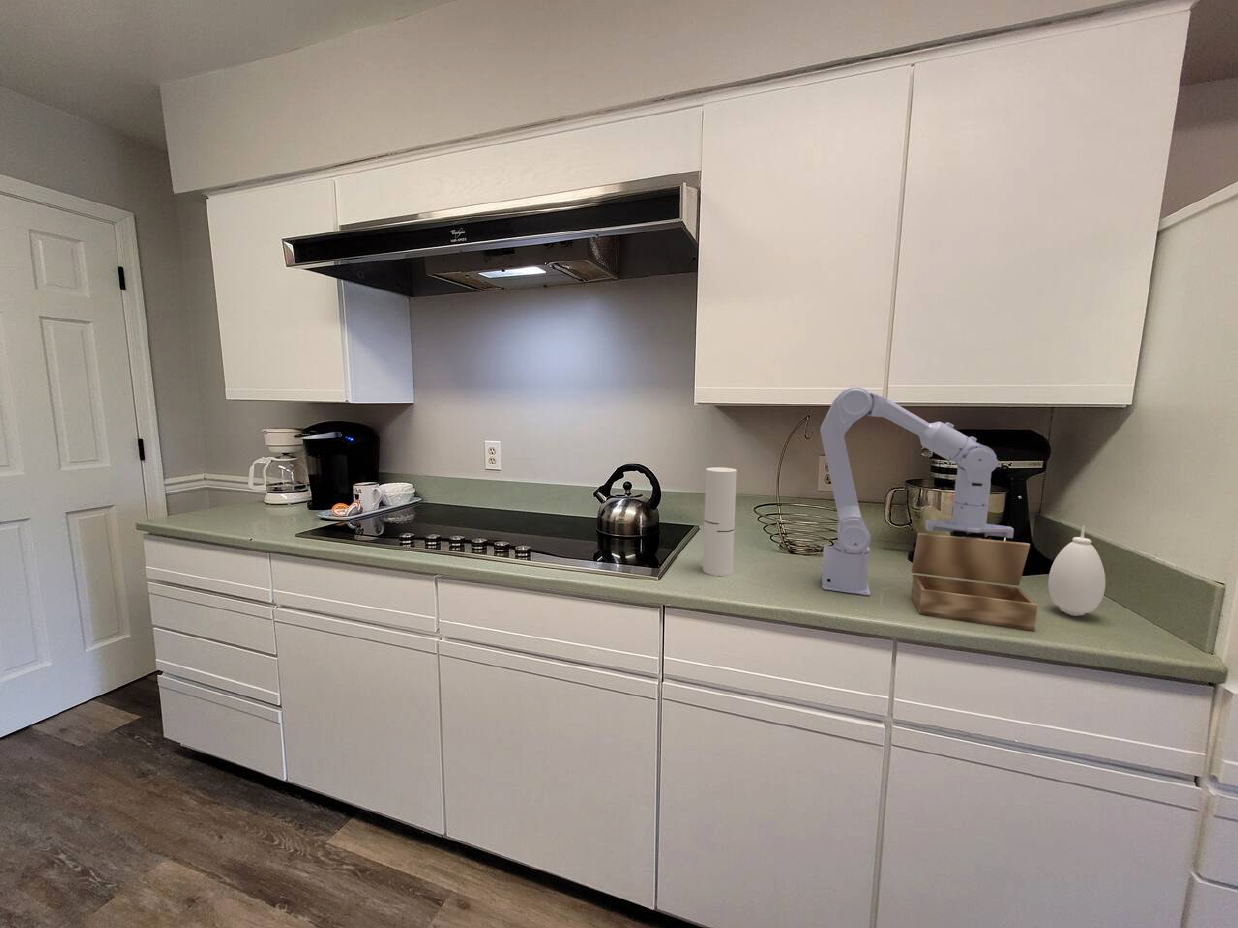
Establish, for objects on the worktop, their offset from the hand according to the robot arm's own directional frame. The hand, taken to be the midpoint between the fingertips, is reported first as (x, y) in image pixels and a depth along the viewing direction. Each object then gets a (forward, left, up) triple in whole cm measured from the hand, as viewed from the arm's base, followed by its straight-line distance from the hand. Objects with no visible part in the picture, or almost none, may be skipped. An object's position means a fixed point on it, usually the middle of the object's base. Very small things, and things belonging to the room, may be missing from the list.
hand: (963, 567), depth 100 cm
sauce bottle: (+19, +2, -8) cm, 20 cm away
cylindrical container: (-50, -1, -8) cm, 51 cm away
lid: (0, -2, +2) cm, 3 cm away
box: (0, -6, -7) cm, 9 cm away
